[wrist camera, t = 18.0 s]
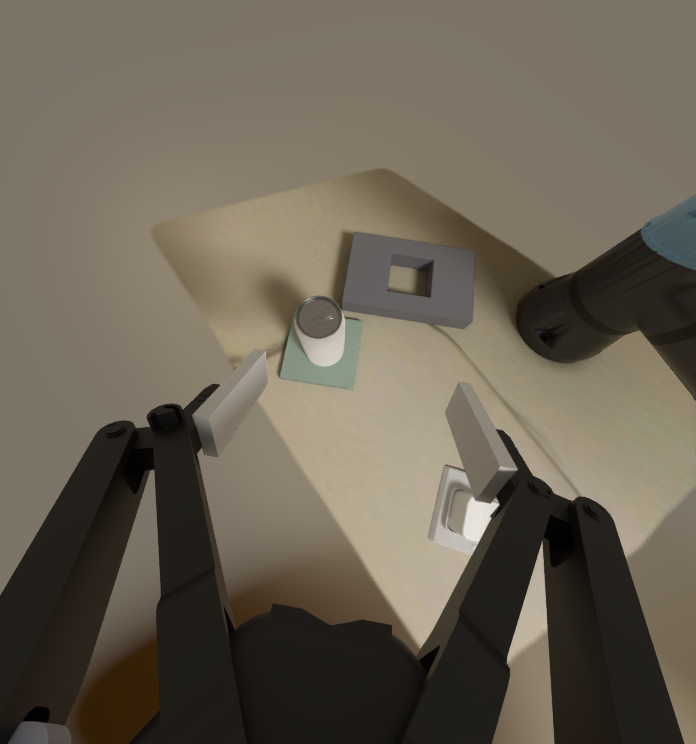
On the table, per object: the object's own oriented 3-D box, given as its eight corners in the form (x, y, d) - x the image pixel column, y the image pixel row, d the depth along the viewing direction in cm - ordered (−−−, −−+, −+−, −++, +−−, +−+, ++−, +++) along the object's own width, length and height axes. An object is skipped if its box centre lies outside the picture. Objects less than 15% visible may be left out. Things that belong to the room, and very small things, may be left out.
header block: (466, 261, 47) (475, 250, 44) (463, 329, 44) (472, 321, 41) (353, 244, 47) (354, 231, 44) (341, 309, 44) (342, 301, 41)
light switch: (450, 466, 36) (540, 497, 35) (440, 463, 40) (521, 490, 39) (433, 547, 33) (529, 583, 32) (424, 535, 37) (510, 567, 36)
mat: (362, 323, 43) (363, 321, 43) (352, 390, 41) (352, 389, 40) (295, 313, 44) (294, 310, 43) (280, 378, 41) (279, 377, 40)
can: (351, 352, 41) (356, 321, 29) (320, 375, 40) (312, 352, 28) (328, 323, 42) (324, 282, 31) (297, 345, 41) (280, 311, 29)
